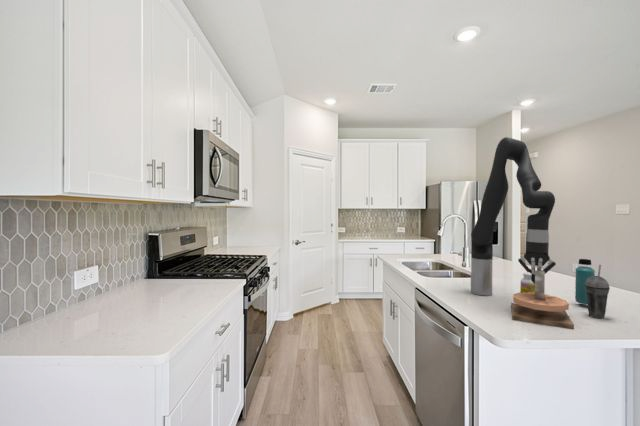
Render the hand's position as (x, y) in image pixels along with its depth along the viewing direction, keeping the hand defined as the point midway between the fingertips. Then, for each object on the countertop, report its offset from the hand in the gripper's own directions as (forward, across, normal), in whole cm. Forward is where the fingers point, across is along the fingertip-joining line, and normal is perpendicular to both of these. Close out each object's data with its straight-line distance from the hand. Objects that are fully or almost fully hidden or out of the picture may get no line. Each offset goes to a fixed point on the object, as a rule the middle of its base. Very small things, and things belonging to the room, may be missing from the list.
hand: (535, 283), depth 125 cm
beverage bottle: (+11, +18, +19) cm, 29 cm away
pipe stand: (+11, +1, -6) cm, 13 cm away
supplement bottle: (+12, -1, +13) cm, 17 cm away
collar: (+6, +1, -6) cm, 9 cm away
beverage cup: (+11, +20, +5) cm, 23 cm away
